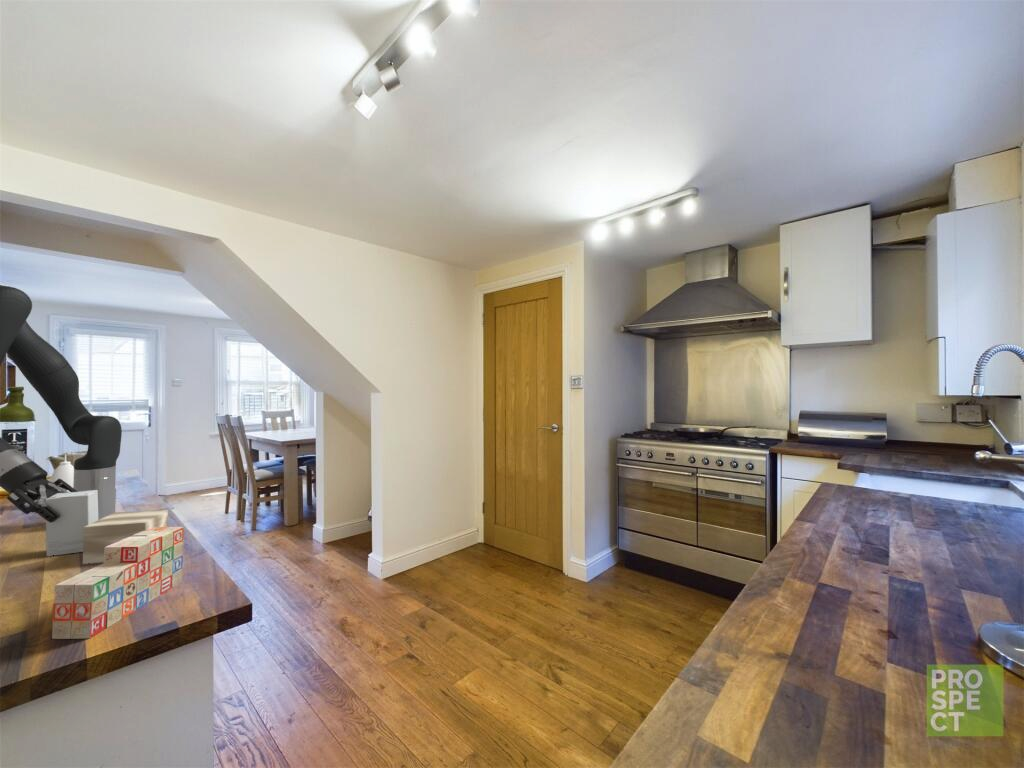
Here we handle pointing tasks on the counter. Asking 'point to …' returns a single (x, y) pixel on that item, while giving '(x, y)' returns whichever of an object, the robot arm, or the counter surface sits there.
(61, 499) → the skincare box
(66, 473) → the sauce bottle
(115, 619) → the stack of blocks
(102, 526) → the riser block
